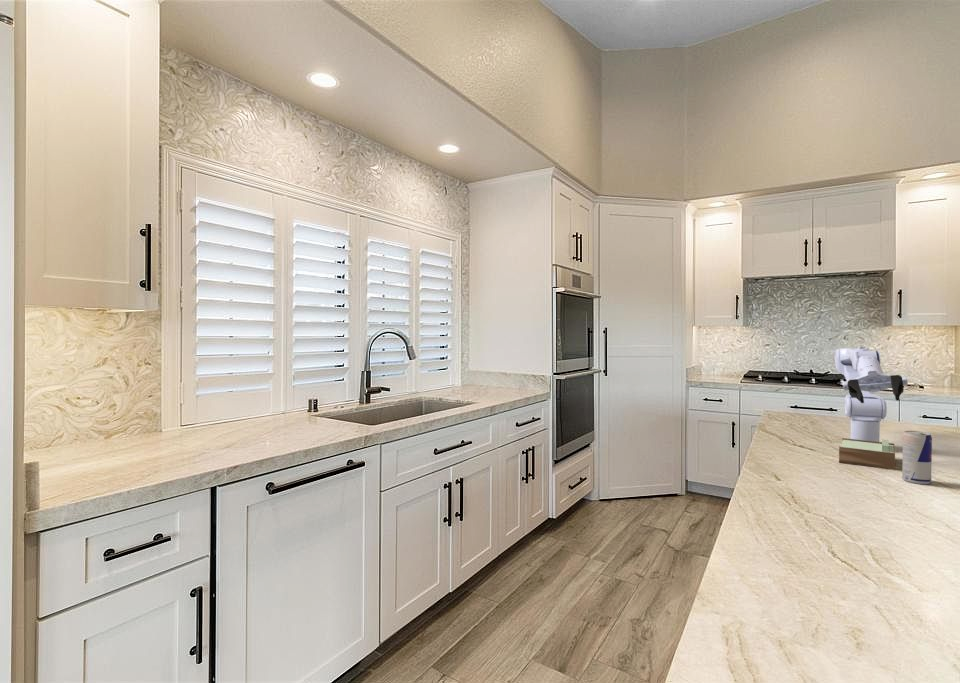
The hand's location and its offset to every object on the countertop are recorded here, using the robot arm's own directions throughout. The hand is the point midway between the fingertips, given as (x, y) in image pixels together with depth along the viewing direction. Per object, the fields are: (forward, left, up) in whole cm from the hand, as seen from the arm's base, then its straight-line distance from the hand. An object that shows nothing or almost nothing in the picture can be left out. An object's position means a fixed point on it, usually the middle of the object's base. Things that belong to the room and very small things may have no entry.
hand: (879, 398), depth 136 cm
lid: (-3, -3, -15) cm, 15 cm away
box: (-3, -3, -18) cm, 19 cm away
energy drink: (+13, +7, -18) cm, 24 cm away
